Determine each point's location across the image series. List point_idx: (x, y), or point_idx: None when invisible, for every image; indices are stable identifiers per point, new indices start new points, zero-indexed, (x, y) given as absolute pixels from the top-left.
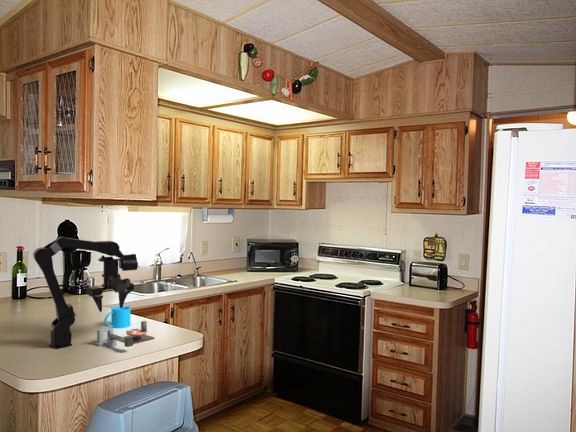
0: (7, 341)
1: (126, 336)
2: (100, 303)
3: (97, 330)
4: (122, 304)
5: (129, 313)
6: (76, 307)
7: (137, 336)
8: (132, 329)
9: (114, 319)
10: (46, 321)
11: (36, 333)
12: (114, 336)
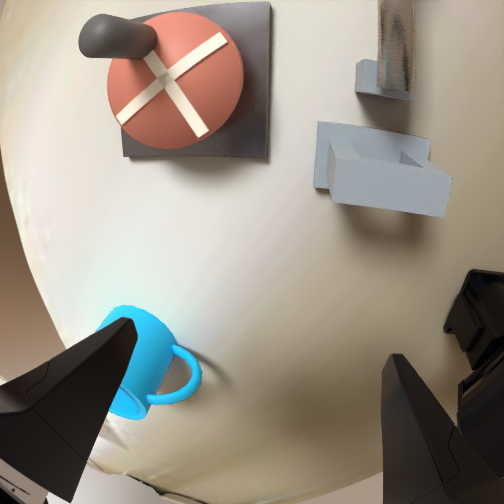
0: None
1: (213, 152)
2: (446, 435)
3: (442, 210)
4: (102, 336)
5: None
6: (176, 471)
7: None
8: (162, 144)
9: (157, 364)
10: (283, 470)
11: (380, 437)
12: (412, 25)
